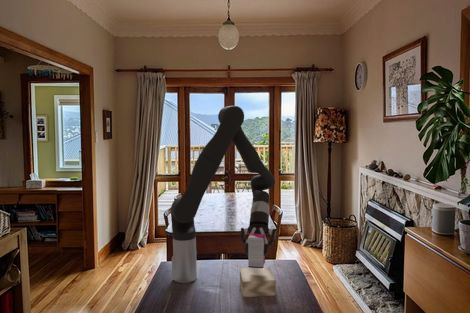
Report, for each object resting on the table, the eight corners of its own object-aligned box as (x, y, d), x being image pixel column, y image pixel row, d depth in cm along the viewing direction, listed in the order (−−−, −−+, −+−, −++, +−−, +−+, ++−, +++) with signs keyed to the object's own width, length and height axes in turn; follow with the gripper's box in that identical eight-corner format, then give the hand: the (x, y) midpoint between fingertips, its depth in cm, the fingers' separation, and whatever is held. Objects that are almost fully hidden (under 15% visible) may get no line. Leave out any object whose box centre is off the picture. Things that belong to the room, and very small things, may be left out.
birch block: (243, 297, 124) (242, 281, 124) (239, 283, 136) (239, 268, 136) (275, 296, 125) (275, 280, 125) (269, 281, 137) (269, 267, 137)
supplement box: (263, 268, 127) (263, 238, 126) (248, 267, 128) (247, 237, 127) (265, 262, 133) (265, 233, 132) (250, 261, 134) (249, 232, 133)
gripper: (240, 209, 137) (235, 249, 127) (277, 210, 135) (274, 251, 124) (243, 219, 143) (238, 257, 132) (278, 220, 140) (276, 259, 130)
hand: (256, 254), depth 128 cm, fingers closed on supplement box, 5 cm apart
